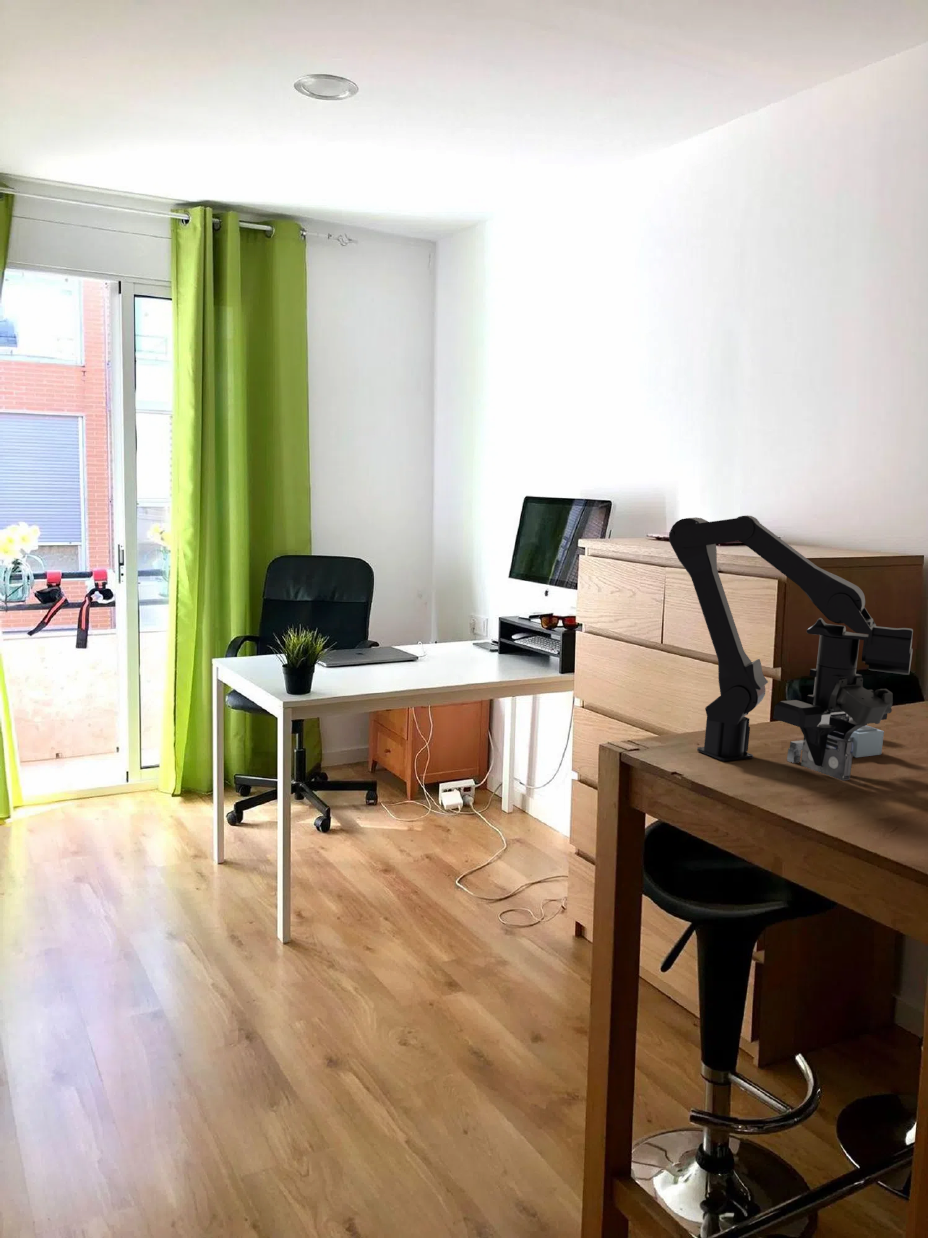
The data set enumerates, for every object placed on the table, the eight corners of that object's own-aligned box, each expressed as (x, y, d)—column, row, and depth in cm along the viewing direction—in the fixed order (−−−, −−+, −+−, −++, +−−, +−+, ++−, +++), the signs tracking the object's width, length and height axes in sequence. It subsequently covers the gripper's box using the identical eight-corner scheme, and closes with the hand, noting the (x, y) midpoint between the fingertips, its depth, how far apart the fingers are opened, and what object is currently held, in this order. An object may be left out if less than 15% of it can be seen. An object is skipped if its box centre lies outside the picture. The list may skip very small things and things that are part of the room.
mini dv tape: (849, 780, 151) (854, 741, 150) (842, 781, 150) (847, 742, 150) (807, 765, 158) (811, 728, 157) (800, 766, 157) (804, 729, 157)
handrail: (793, 763, 158) (795, 743, 158) (786, 760, 160) (788, 741, 159) (852, 756, 165) (855, 737, 164) (846, 753, 166) (848, 735, 165)
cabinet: (856, 757, 164) (858, 732, 163) (818, 744, 171) (821, 720, 170) (881, 754, 167) (884, 729, 166) (843, 741, 174) (846, 717, 173)
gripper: (834, 679, 140) (822, 786, 143) (923, 673, 149) (910, 774, 151) (776, 664, 150) (766, 764, 152) (862, 659, 159) (852, 754, 161)
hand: (825, 764), depth 154 cm, fingers open, 3 cm apart
